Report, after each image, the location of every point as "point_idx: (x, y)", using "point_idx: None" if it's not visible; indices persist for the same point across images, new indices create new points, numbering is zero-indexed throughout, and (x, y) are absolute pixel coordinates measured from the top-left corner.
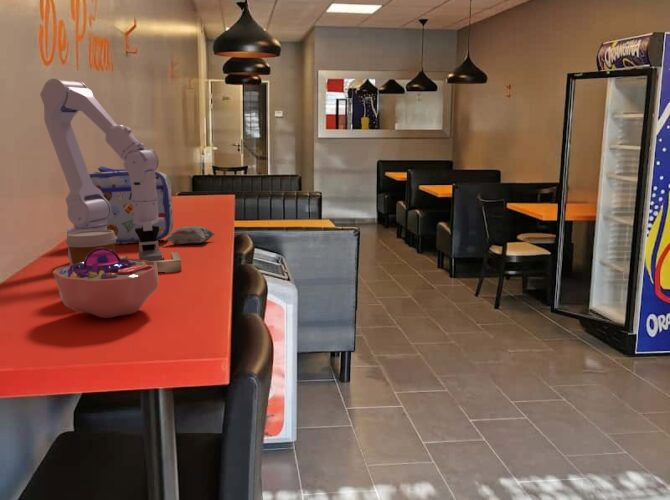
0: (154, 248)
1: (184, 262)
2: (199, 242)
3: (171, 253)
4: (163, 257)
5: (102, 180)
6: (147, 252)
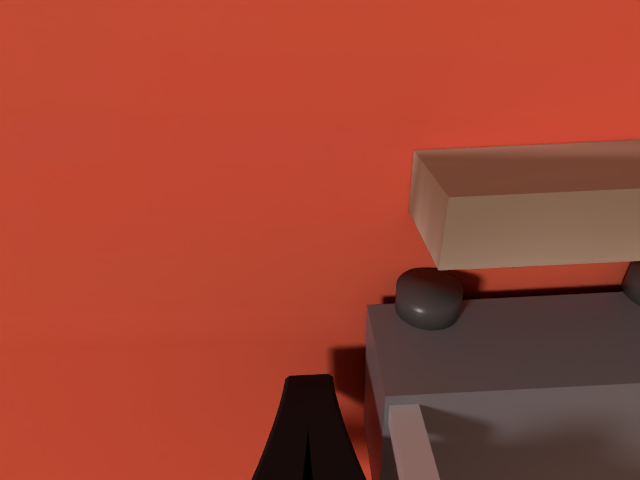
0: (349, 443)
1: (446, 79)
2: None
3: (511, 265)
4: (442, 310)
5: None
6: (517, 470)
